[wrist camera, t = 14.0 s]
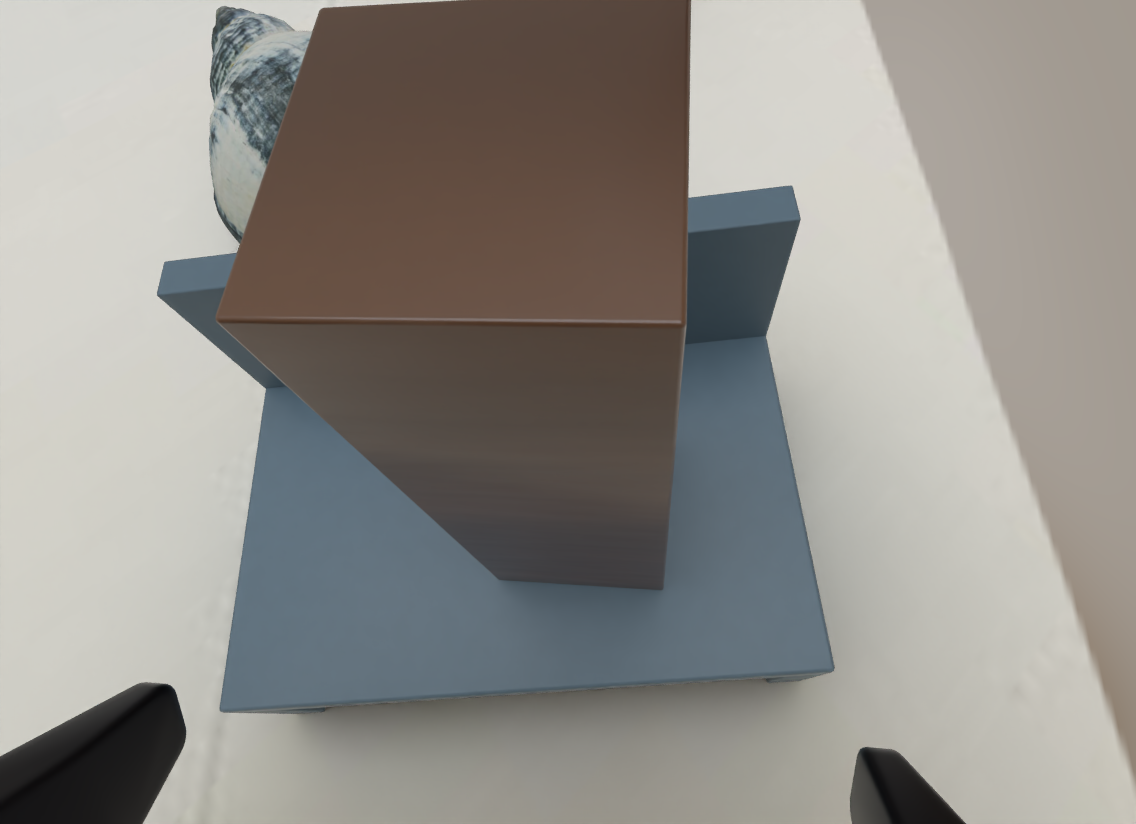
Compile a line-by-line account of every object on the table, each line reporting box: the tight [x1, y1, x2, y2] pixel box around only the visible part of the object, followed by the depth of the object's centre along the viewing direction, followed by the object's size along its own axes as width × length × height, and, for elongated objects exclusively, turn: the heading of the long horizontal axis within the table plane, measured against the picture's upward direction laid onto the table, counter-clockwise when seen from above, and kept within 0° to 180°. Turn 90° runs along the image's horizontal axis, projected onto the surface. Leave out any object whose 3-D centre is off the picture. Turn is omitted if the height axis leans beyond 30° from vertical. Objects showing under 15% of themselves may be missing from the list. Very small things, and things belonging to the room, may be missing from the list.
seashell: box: [209, 6, 312, 243], centre depth 26 cm, size 6×8×12 cm
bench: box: [157, 186, 835, 714], centre depth 18 cm, size 10×15×9 cm, turn 93°
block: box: [215, 0, 691, 590], centre depth 12 cm, size 4×4×12 cm
